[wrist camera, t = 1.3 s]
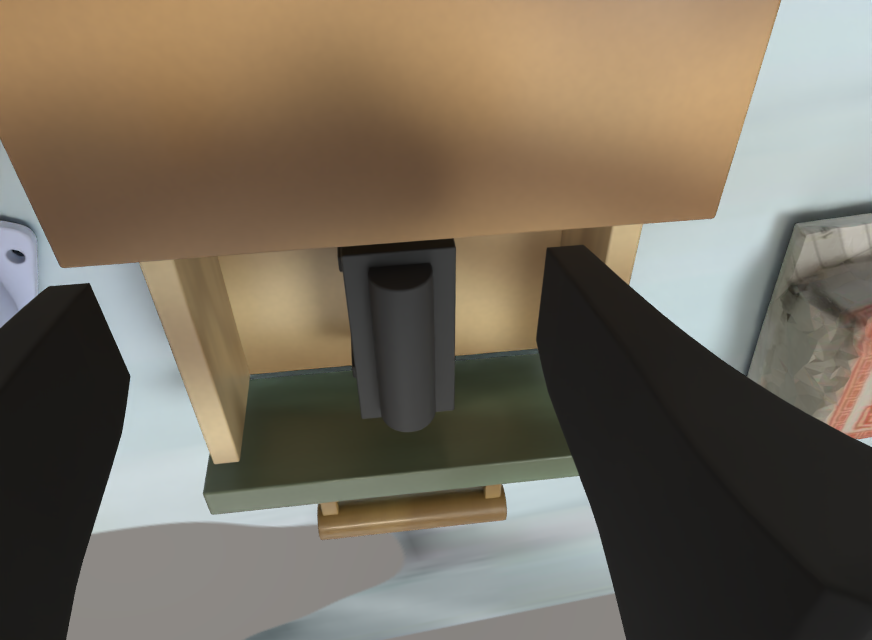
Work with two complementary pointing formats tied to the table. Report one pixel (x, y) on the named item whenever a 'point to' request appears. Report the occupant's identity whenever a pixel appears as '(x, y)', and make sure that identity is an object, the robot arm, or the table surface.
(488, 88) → the cabinet
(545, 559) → the table surface
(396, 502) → the drawer
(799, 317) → the packaged product
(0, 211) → the table surface
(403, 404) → the clip
